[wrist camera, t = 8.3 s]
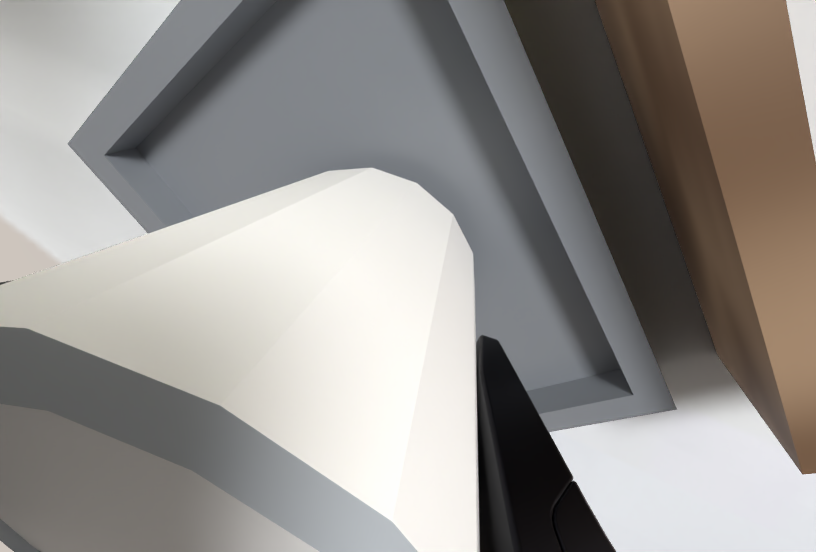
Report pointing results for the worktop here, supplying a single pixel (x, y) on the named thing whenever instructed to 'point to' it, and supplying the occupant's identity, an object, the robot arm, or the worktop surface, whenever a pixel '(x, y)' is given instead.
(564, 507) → the robot arm
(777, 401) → the walnut bin
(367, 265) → the white tapered cup
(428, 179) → the charcoal tray
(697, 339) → the worktop surface
